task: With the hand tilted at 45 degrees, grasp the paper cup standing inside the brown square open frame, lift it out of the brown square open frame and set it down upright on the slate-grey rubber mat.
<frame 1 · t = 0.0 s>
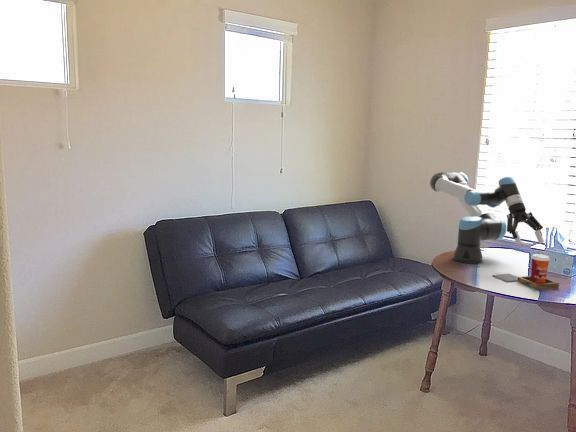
hand: (530, 243, 241), 15 cm above the table, tool tilted 35°, fingers open, 13 cm apart
brown square open frame: (537, 285, 226), on the table
mat: (508, 278, 235), on the table
paper cup: (537, 285, 226), resting in brown square open frame
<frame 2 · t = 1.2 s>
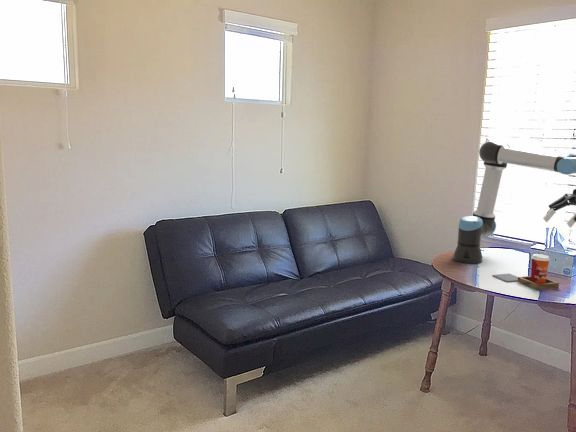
hand: (556, 222, 227), 28 cm above the table, tool tilted 45°, fingers open, 13 cm apart
nothing on the table moved.
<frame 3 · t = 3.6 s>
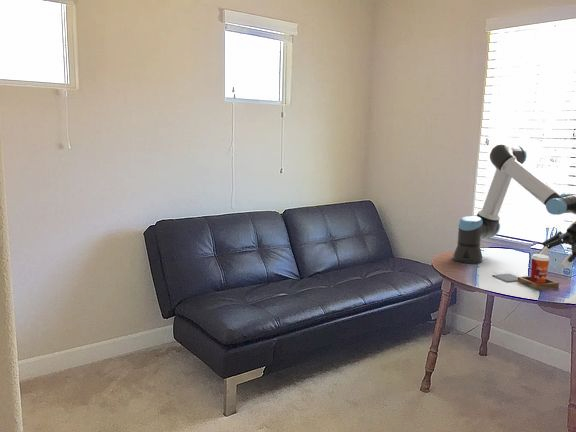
hand: (550, 262, 224), 11 cm above the table, tool tilted 45°, fingers open, 13 cm apart
nothing on the table moved.
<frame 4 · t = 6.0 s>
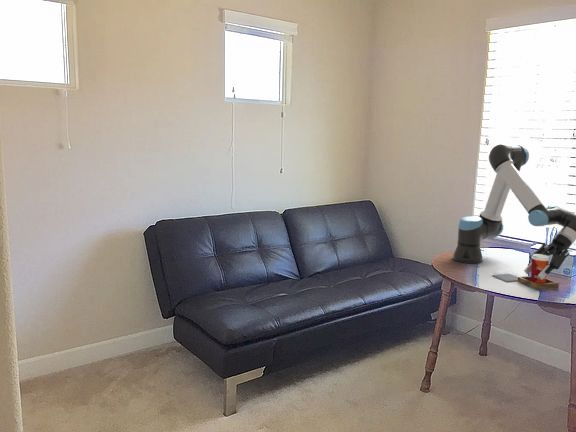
hand: (532, 275, 224), 5 cm above the table, tool tilted 45°, fingers closed on paper cup, 8 cm apart
paper cup: (537, 285, 226), resting in brown square open frame, touching gripper
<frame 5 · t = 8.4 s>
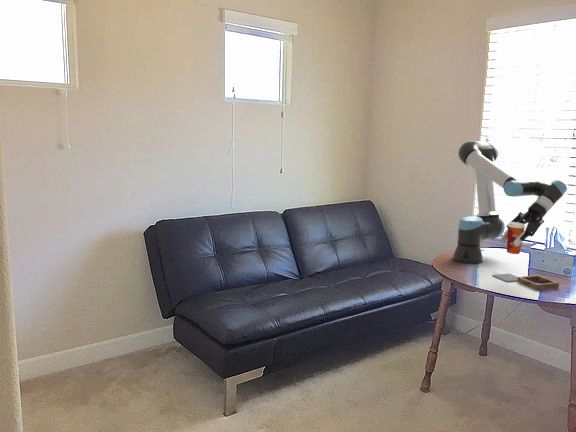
hand: (508, 242, 230), 18 cm above the table, tool tilted 45°, fingers closed on paper cup, 8 cm apart
paper cup: (513, 252, 232), point 13 cm above the table, touching gripper
when the fingers open (7 cm above the table, at t = 11.1 s): paper cup drops 1 cm, resting on mat.
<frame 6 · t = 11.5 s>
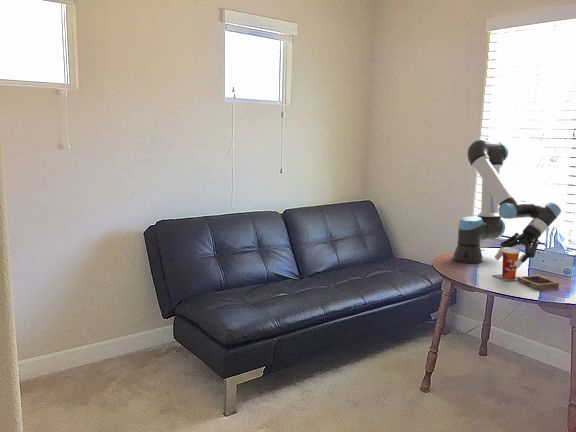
hand: (505, 262, 233), 8 cm above the table, tool tilted 45°, fingers open, 13 cm apart
paper cup: (508, 277, 235), resting on mat
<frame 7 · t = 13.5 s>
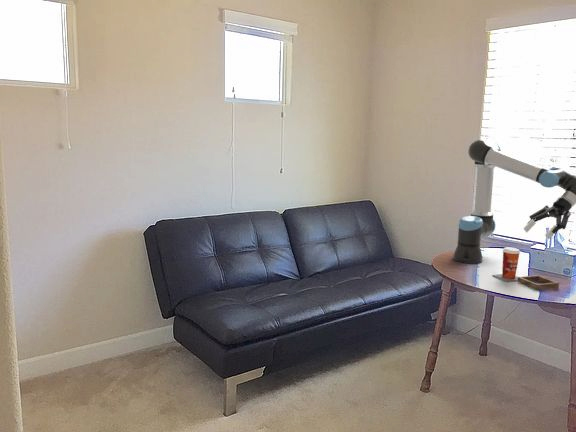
hand: (535, 233, 235), 21 cm above the table, tool tilted 45°, fingers open, 13 cm apart
nothing on the table moved.
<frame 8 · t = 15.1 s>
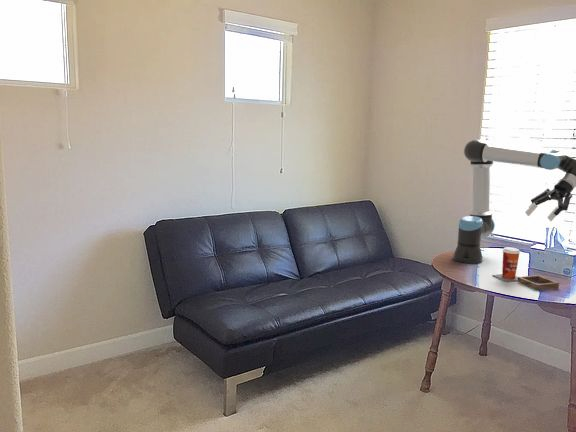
hand: (537, 216, 234), 30 cm above the table, tool tilted 45°, fingers open, 13 cm apart
nothing on the table moved.
at the end: paper cup inside the target area (0.2 cm from its centre), resting on mat; paper cup tilted 0°; the gripper is holding nothing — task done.
